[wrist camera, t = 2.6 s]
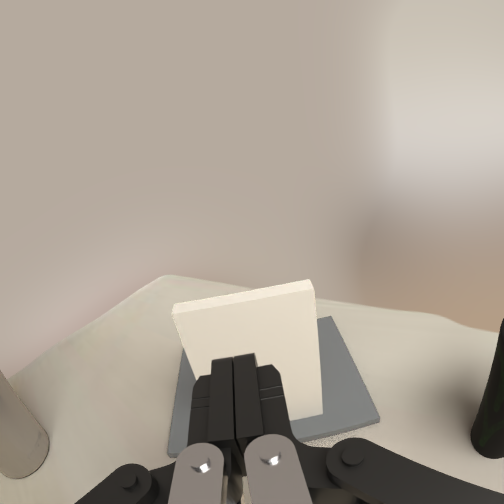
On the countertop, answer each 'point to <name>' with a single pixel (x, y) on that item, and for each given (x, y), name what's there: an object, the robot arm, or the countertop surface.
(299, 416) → the tile
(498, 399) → the cup
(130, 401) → the countertop surface
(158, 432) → the countertop surface
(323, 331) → the mat
